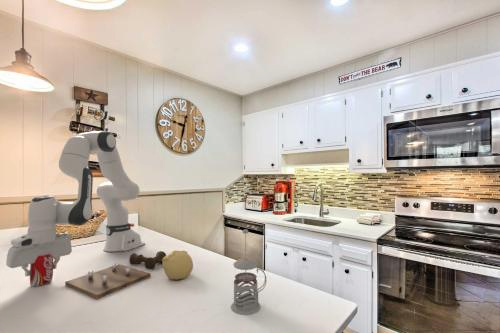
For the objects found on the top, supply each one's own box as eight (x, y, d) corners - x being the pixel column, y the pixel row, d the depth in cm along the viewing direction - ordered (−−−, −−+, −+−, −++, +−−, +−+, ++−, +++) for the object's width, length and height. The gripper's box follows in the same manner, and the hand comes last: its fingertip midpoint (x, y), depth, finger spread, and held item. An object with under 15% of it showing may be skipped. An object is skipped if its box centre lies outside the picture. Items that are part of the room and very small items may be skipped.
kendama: (139, 261, 127) (173, 263, 122) (124, 268, 118) (161, 271, 112) (138, 249, 127) (173, 251, 122) (124, 255, 118) (160, 258, 112)
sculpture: (181, 269, 114) (181, 245, 115) (198, 276, 107) (198, 250, 107) (158, 277, 105) (158, 251, 106) (174, 285, 98) (174, 257, 98)
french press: (230, 299, 86) (230, 226, 87) (264, 298, 87) (263, 225, 88) (230, 315, 76) (230, 233, 77) (268, 314, 77) (268, 232, 78)
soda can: (39, 288, 95) (40, 256, 96) (24, 286, 97) (25, 255, 97) (57, 280, 102) (58, 251, 103) (43, 279, 104) (44, 250, 104)
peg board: (119, 267, 117) (119, 257, 117) (150, 276, 106) (150, 266, 106) (65, 285, 98) (65, 273, 98) (96, 299, 87) (96, 286, 87)
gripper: (67, 231, 111) (67, 262, 110) (5, 241, 93) (4, 279, 92) (75, 232, 107) (74, 265, 107) (11, 243, 90) (10, 283, 89)
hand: (41, 272), depth 99 cm, fingers closed on soda can, 7 cm apart
